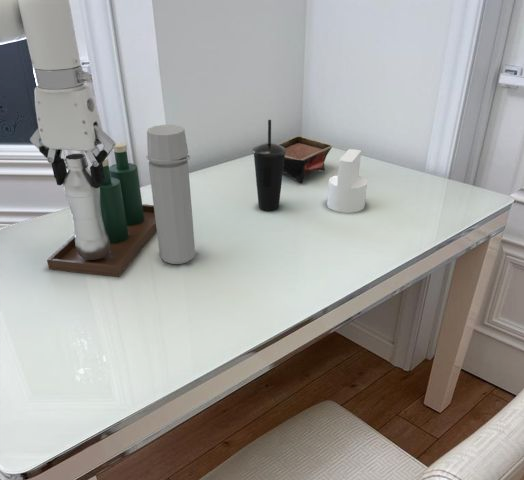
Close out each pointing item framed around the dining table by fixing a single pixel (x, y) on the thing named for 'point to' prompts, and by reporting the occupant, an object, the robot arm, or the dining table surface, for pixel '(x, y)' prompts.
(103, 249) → the silver metal bottle
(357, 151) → the base with upright slab
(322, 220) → the dining table surface
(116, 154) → the green bottle
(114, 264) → the tray
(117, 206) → the green bottle
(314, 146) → the rectangular planter
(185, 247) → the water bottle
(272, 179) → the drinking cup
